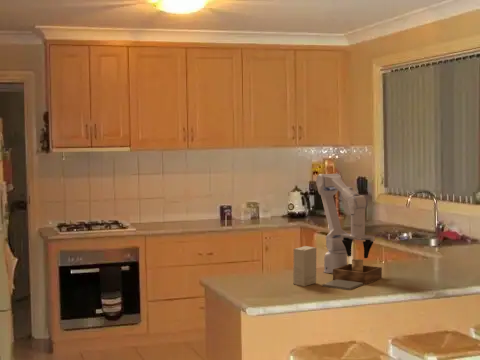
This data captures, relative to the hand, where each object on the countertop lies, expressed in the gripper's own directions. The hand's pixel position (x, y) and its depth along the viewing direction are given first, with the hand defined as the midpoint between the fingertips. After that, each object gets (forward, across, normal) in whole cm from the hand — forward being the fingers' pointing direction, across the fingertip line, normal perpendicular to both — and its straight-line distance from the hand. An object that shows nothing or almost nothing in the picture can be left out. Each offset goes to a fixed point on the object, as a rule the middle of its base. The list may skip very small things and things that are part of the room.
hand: (357, 257), depth 306 cm
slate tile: (+9, +1, -15) cm, 18 cm away
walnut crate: (+9, 0, 0) cm, 9 cm away
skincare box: (+10, -13, -21) cm, 27 cm away
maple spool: (+7, 0, 0) cm, 7 cm away
